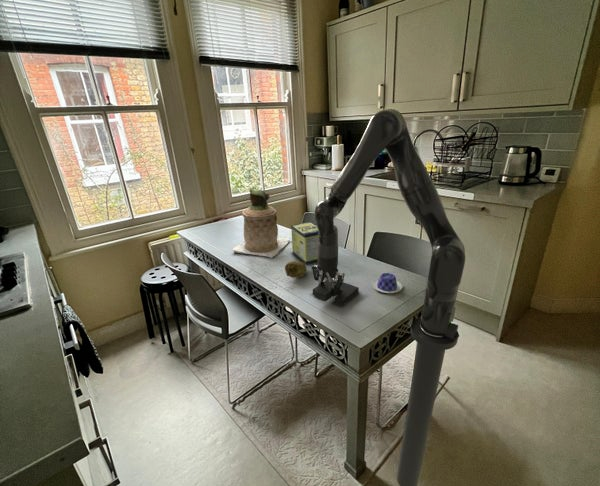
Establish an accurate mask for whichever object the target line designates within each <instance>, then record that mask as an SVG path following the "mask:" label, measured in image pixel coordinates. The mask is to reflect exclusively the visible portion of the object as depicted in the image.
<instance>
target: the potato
mask: <svg viewBox="0 0 600 486" xmlns="http://www.w3.org/2000/svg"><path fill="white" fill-rule="evenodd" d="M307 270H308V268H307V264H305V263H304V262H302V261H295V260H292V261H289V262H287V263H285V266H284V271H285V274H286V276H287V277H289V278H301V277H303V276H305V275H306V273H307Z"/></svg>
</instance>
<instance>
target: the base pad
mask: <svg viewBox="0 0 600 486" xmlns="http://www.w3.org/2000/svg"><path fill="white" fill-rule="evenodd" d="M332 279H333V278H332ZM328 281H329V280H328V279H327V278H326V279H325V280H324V281H323V282H324V284H325V283H327V282H328ZM318 288H319V284H318V285H316V286H315V287H313V288H312V295H313V296H315V290H316V289H318ZM359 288H360V287H359V286H356V285H353V284H351V283H347V282H344V281H343V283H342V286H341V287H340V291H339V292H338V293H337V294H336V295H335V296H334V297H333V298H334V299H333V302H334V304H336V305H338V306H340V307H343V306H344V305H346V304H347V303H348V302H349V301H351V300H352V299H353V298H355V296H357V295H358V294H359V291H360V289H359Z"/></svg>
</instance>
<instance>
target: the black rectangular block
mask: <svg viewBox="0 0 600 486" xmlns="http://www.w3.org/2000/svg"><path fill="white" fill-rule="evenodd" d="M331 288H332V287H331V284H330V283H329V281H328V282H327V283H325V284H324V285H322V286H321V287H319V288H318V289H316V290H315V295H314V298H315V299H318V300H320V301H323V302H325V303H326V302H327V301H328V300H330V299H331V298H333V296H331ZM339 291H340V287H339V288H338V289H337V293H338V292H339Z"/></svg>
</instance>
